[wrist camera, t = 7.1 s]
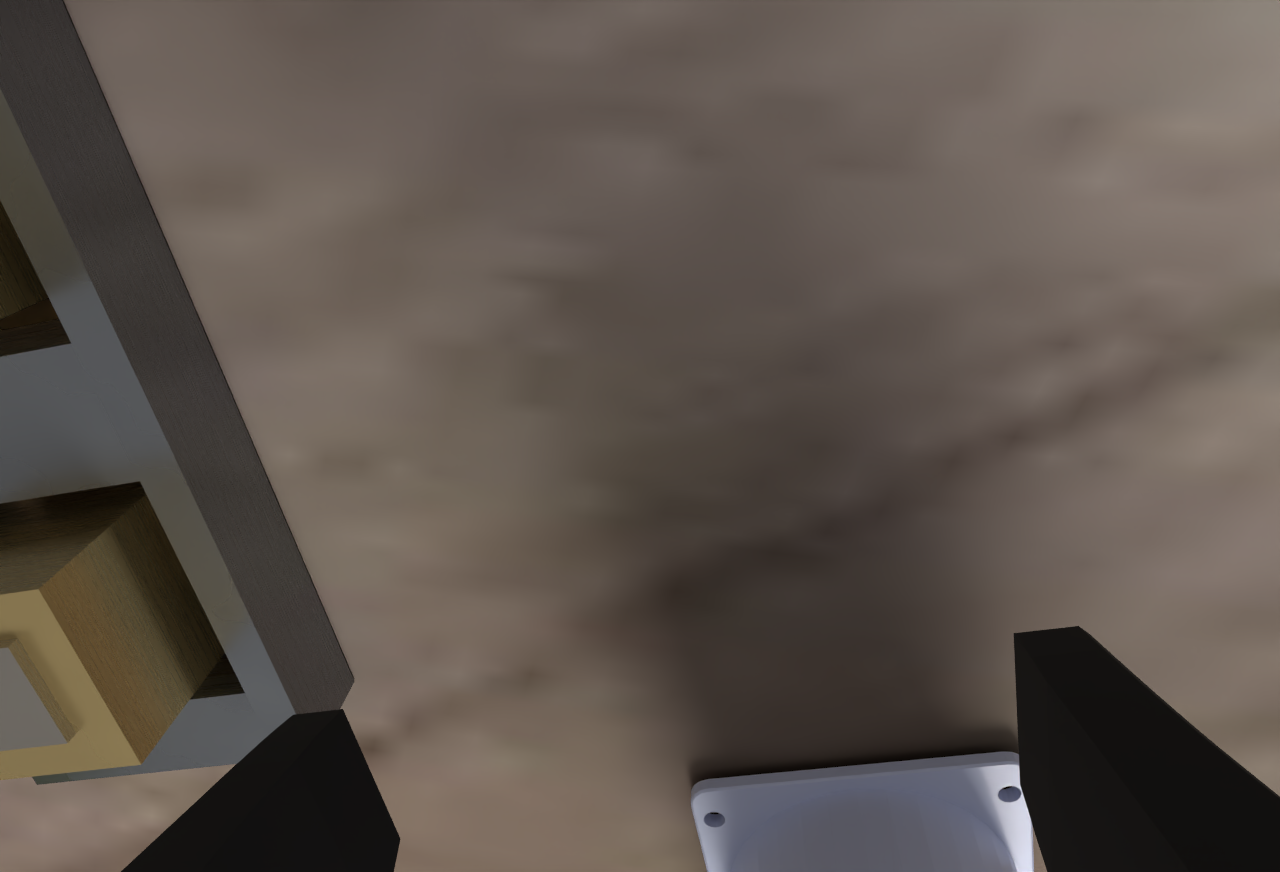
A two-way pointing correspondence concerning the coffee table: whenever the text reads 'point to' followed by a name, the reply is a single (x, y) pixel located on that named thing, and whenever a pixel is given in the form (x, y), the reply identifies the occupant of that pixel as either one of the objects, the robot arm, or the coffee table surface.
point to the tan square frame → (93, 632)
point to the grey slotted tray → (142, 401)
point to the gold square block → (16, 272)
